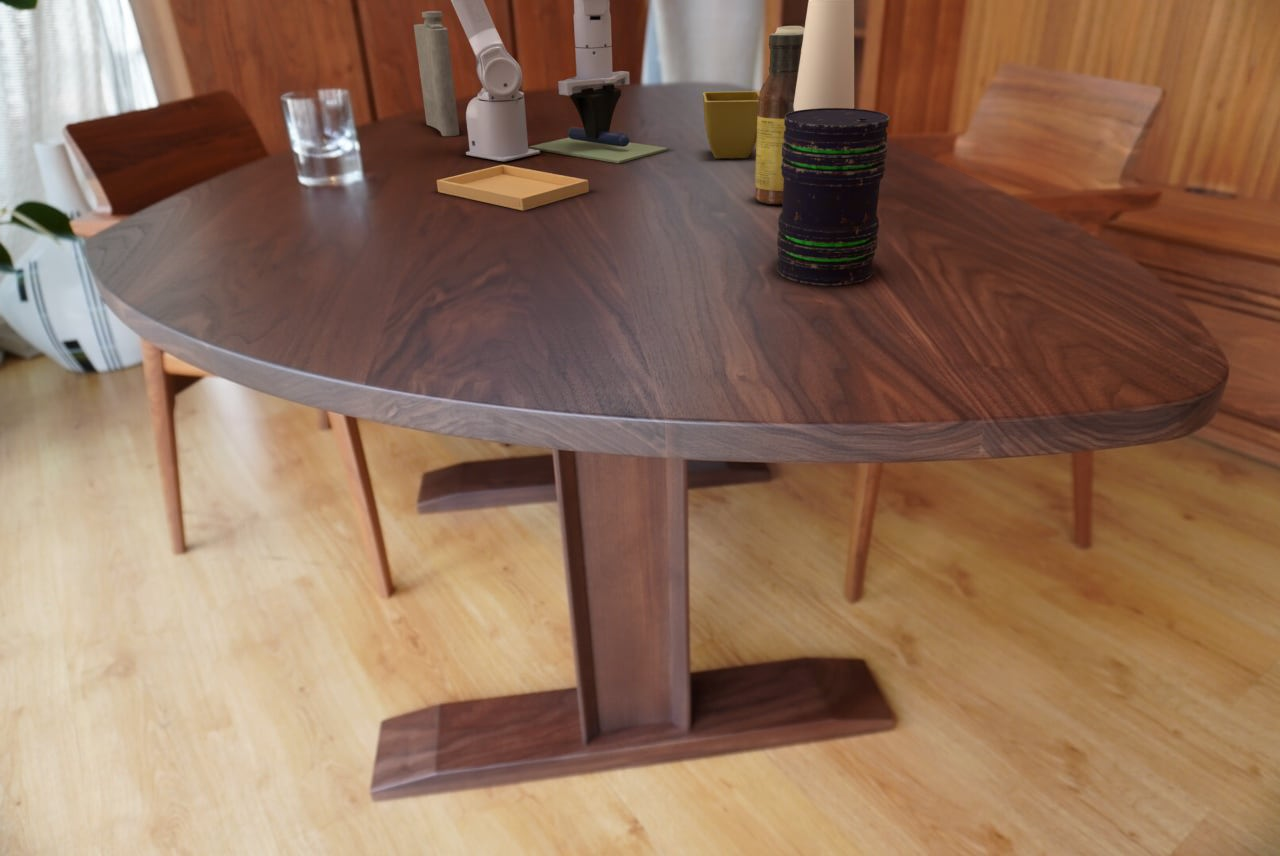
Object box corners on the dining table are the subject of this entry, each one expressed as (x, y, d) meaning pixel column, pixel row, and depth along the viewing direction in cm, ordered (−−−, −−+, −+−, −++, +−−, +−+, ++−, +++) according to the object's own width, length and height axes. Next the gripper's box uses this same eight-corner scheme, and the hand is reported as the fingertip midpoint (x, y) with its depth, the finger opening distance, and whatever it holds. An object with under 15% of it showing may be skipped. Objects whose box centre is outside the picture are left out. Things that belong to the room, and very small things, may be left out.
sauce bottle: (801, 207, 114) (812, 35, 104) (751, 206, 115) (758, 36, 105) (804, 194, 119) (814, 30, 110) (756, 193, 120) (762, 31, 111)
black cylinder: (755, 270, 92) (761, 117, 85) (813, 249, 98) (823, 104, 91) (837, 293, 86) (851, 129, 79) (893, 268, 92) (911, 114, 85)
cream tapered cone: (776, 217, 110) (787, -2, 98) (825, 211, 112) (841, -4, 100) (804, 232, 104) (820, 1, 93) (855, 225, 106) (876, -1, 95)
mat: (529, 148, 150) (528, 146, 150) (579, 137, 158) (579, 135, 158) (619, 163, 139) (619, 160, 139) (668, 150, 147) (668, 147, 147)
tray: (437, 192, 125) (436, 180, 124) (503, 175, 133) (502, 164, 133) (523, 210, 115) (522, 198, 114) (588, 191, 123) (588, 180, 123)
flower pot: (761, 161, 138) (764, 99, 134) (704, 162, 138) (704, 100, 134) (756, 150, 146) (758, 90, 141) (701, 150, 146) (702, 91, 142)
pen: (565, 139, 151) (564, 127, 150) (573, 137, 153) (573, 125, 152) (624, 148, 144) (623, 135, 143) (632, 146, 145) (631, 133, 144)
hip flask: (425, 123, 174) (410, 9, 165) (445, 121, 176) (432, 8, 166) (443, 137, 162) (428, 14, 152) (466, 134, 163) (452, 12, 154)
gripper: (579, 52, 134) (584, 146, 141) (643, 43, 144) (644, 132, 150) (546, 50, 138) (552, 141, 145) (610, 41, 148) (613, 127, 154)
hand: (597, 136), depth 148 cm, fingers closed on pen, 2 cm apart
